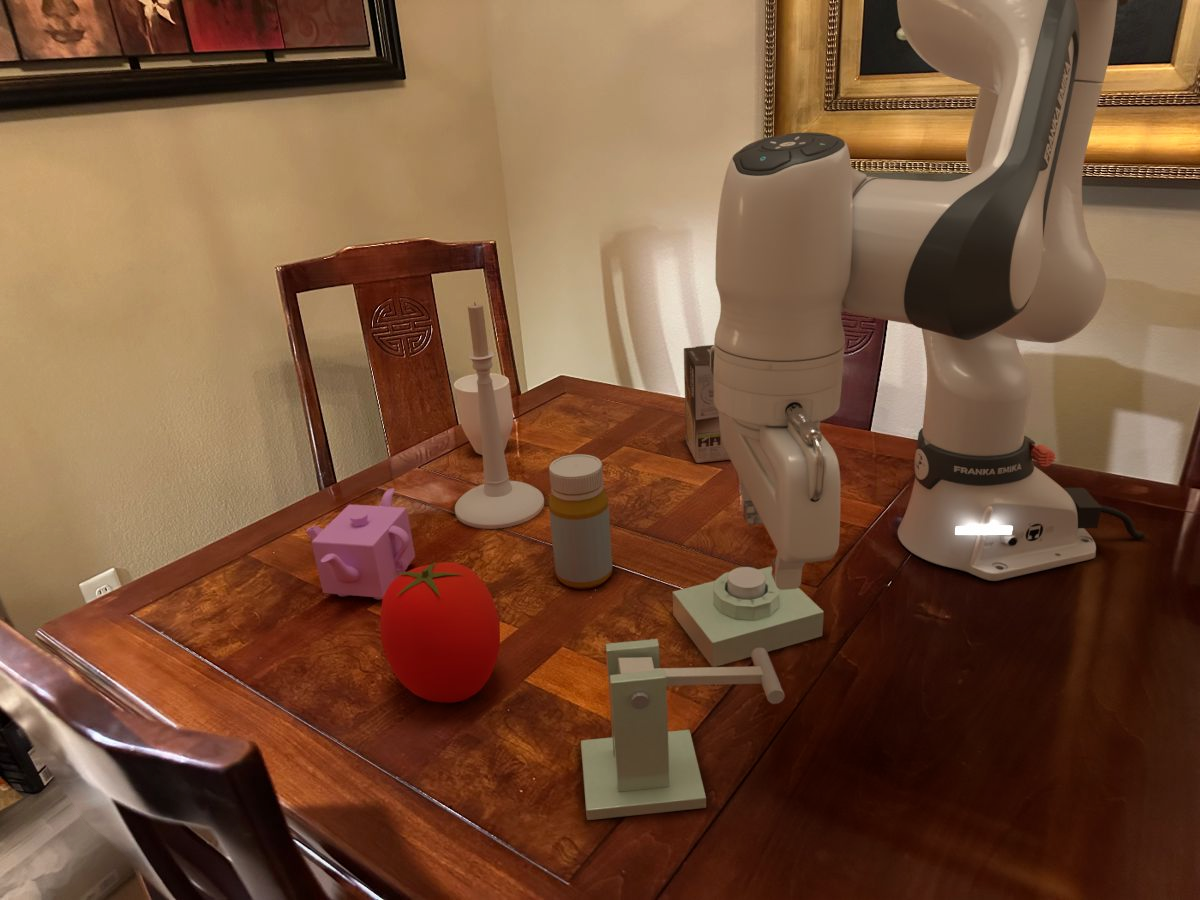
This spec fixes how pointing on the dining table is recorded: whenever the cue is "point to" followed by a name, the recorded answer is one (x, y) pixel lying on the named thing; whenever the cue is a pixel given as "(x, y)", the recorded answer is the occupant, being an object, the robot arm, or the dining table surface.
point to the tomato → (440, 631)
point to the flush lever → (715, 674)
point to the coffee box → (701, 407)
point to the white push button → (746, 583)
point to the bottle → (580, 521)
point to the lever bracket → (639, 746)
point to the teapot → (363, 549)
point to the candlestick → (493, 453)
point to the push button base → (745, 619)
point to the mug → (470, 407)
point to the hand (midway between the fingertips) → (768, 550)
